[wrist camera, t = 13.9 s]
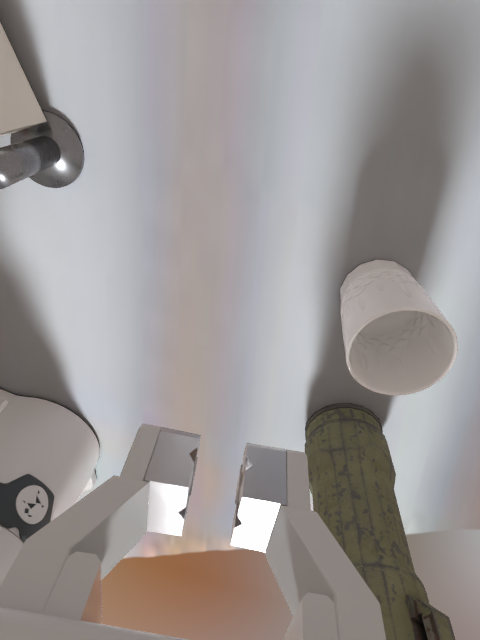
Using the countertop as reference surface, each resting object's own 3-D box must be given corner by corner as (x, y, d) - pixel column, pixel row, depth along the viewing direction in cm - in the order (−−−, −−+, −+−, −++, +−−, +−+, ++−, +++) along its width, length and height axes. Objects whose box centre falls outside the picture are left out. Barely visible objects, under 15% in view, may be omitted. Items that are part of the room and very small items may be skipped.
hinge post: (48, 199, 38) (-3, 229, 31) (-2, 136, 36) (-70, 154, 29) (98, 163, 36) (55, 187, 29) (49, 95, 34) (-11, 103, 27)
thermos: (409, 417, 47) (620, 1021, 18) (342, 474, 53) (416, 1004, 23) (344, 380, 46) (456, 984, 16) (282, 444, 51) (279, 976, 22)
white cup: (432, 257, 38) (474, 315, 29) (406, 332, 42) (437, 401, 33) (342, 248, 38) (359, 301, 30) (326, 323, 42) (336, 389, 34)
